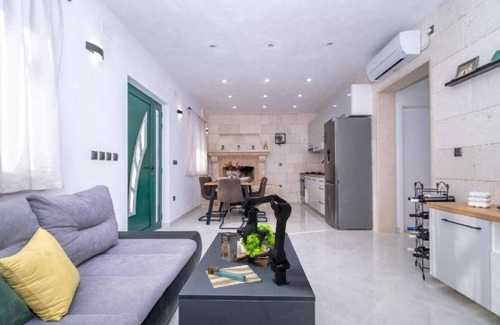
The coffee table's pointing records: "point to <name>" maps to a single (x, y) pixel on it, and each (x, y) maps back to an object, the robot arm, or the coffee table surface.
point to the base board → (224, 281)
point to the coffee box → (229, 246)
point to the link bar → (230, 275)
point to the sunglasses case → (261, 261)
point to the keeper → (212, 269)
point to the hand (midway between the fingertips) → (253, 246)
